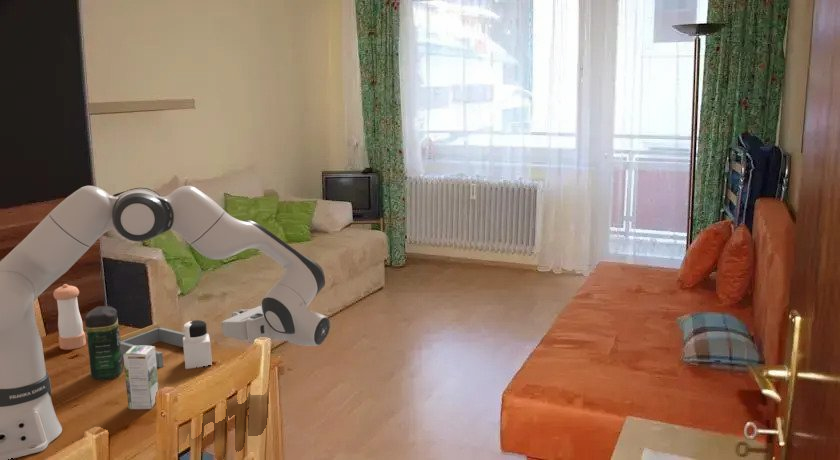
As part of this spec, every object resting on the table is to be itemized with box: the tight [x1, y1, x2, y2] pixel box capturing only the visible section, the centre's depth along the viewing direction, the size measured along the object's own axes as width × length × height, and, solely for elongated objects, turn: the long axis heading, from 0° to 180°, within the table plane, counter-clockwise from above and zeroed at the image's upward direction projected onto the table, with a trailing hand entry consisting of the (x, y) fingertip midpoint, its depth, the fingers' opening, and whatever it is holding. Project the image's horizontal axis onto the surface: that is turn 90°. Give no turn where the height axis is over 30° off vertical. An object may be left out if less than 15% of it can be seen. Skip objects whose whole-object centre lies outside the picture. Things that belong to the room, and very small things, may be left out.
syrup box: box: [122, 345, 160, 410], centre depth 182 cm, size 6×6×14 cm
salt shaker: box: [52, 283, 87, 351], centre depth 222 cm, size 7×7×19 cm
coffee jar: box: [84, 305, 124, 381], centre depth 200 cm, size 10×8×19 cm
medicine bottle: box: [182, 319, 213, 370], centre depth 207 cm, size 7×7×12 cm
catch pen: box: [120, 322, 185, 368], centre depth 216 cm, size 15×18×5 cm
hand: (235, 313), depth 197 cm, fingers closed
